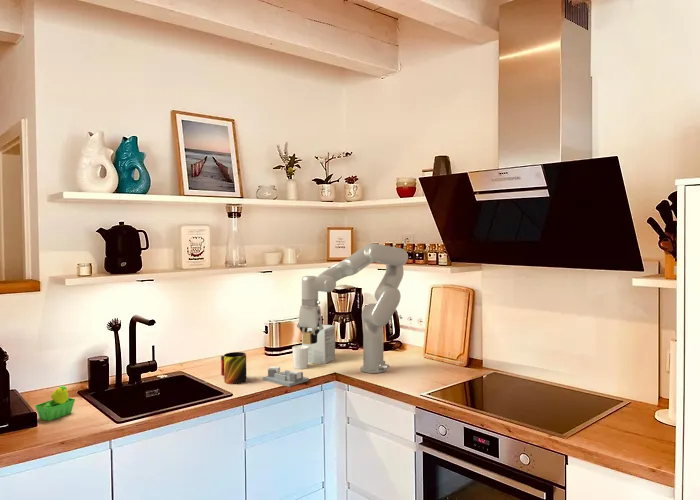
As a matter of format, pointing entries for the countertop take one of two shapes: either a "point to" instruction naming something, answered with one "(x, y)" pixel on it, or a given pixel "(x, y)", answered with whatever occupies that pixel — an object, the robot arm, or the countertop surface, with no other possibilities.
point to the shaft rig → (285, 377)
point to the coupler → (307, 337)
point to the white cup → (300, 356)
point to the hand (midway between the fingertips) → (310, 342)
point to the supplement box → (322, 345)
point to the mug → (234, 368)
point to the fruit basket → (56, 405)
